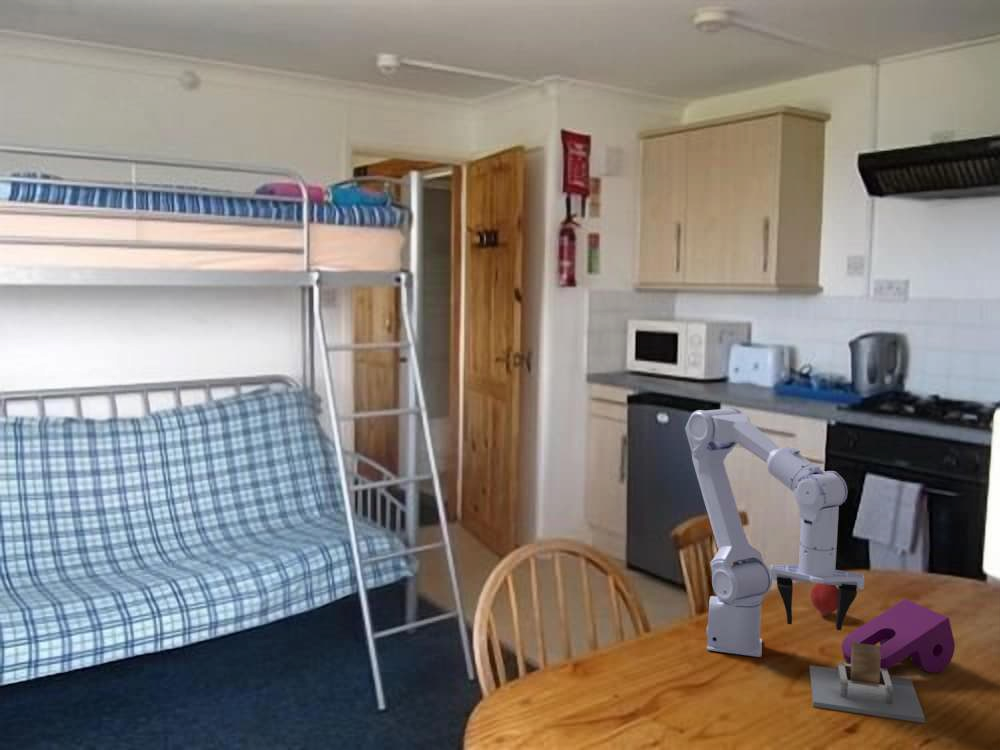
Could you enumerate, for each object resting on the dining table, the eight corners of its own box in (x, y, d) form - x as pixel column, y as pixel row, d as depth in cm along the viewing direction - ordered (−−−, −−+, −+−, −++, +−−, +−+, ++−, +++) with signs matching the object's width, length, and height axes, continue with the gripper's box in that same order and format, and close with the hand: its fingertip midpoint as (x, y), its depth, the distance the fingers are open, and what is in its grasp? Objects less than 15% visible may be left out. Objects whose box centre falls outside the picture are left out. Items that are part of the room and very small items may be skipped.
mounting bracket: (881, 710, 146) (959, 658, 151) (870, 668, 144) (948, 617, 149) (841, 686, 154) (915, 637, 160) (829, 646, 152) (905, 598, 158)
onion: (814, 607, 179) (816, 570, 179) (843, 614, 176) (845, 576, 175) (805, 616, 175) (808, 577, 174) (835, 622, 171) (837, 583, 171)
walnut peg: (851, 693, 139) (853, 651, 139) (849, 683, 143) (851, 642, 143) (878, 697, 138) (880, 655, 138) (875, 686, 142) (878, 645, 141)
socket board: (813, 706, 137) (814, 686, 136) (809, 669, 150) (810, 651, 150) (924, 723, 132) (926, 702, 132) (910, 683, 145) (911, 664, 145)
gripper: (771, 547, 141) (768, 628, 143) (868, 557, 137) (863, 640, 138) (771, 536, 148) (768, 613, 149) (863, 544, 144) (858, 623, 145)
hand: (813, 625), depth 144 cm, fingers open, 7 cm apart
